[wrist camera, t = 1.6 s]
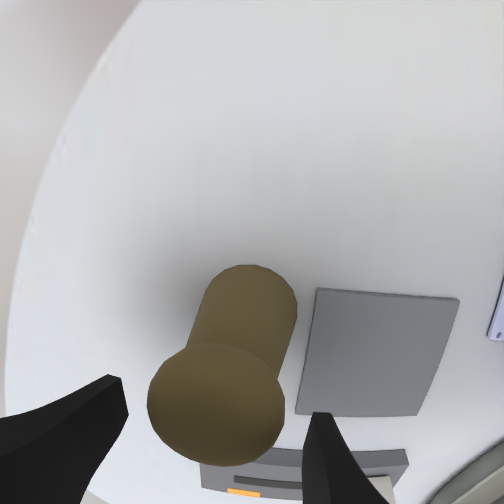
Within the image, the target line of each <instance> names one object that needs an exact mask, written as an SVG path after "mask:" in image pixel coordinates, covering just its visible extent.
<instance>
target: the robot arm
mask: <svg viewBox="0 0 504 504" xmlns="http://www.w3.org/2000/svg"><path fill="white" fill-rule="evenodd" d="M497 334H498V335H497ZM488 338H489V339H490V340H491V341H499V340H504V283H503V287H502V291H501V294H500V298H499V301H498V305H497V308H496V311H495V314H494V317H493V320H492V323H491V326H490V329H489V332H488ZM128 415H129V414H128V409H127V405H126V400H125V396H124V391H123V386H122V381H121V378H119V377H116V376H112V375H109V374H107V375H105V376H103V377H101V378H99V379H97V380H96V381H94V382H92V383H90V384H88V385H86V386H84V387H83V388H81V389H79V390H77V391H75V392H73V393H71V394H69V395H67V396H65V397H63V398H61V399H59V400H56V401H54V402H52V403H50V404H47V405H45V406H43V407H40V408H37V409H34V410H31V411H28V412H25V413H22V414H18V415H13V416H9V417H4V418H0V504H80V502H81V500H82V497H83V495H84V493H85V491H86V489H87V487H88V484H89V482H90V480H91V478H92V477H93V475H94V473H95V471H96V470H97V468H98V467H99V465H100V464H101V462H102V461H103V459H104V458H105V456H106V455H107V453H108V452H109V450H110V449H111V447H112V446H113V444H114V443H115V441H116V440H117V438H118V437H119V435H120V433H121V431H122V429H123V427H124V425H125V422H126V420H127V418H128ZM301 472H302V495H303V504H389V503H388V501H387V500H386V499H385V498H384V497H383V496H382V495H381V494H380V493H379V492H378V490H377V489H376V488H375V487H374V486H373V484H372V483H371V482H370V480H369V479H368V478H367V476H366V475H365V473H364V472H363V471H362V469H361V468H360V466H359V465H358V463H357V462H356V460H355V458H354V457H353V455H352V453H351V452H350V450H349V448H348V446H347V445H346V443H345V441H344V439H343V437H342V435H341V433H340V431H339V429H338V427H337V425H336V422H335V420H334V418H333V415H332V414H331V413H330V412H313V414H312V418H311V421H310V425H309V429H308V432H307V436H306V439H305V442H304V446H303V456H302V470H301Z"/></svg>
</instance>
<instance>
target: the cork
mask: <svg viewBox="0 0 504 504" xmlns="http://www.w3.org/2000/svg"><path fill="white" fill-rule="evenodd" d="M296 319H297V301H296V299H295V296H294V293H293V290H292V289H291V288H290V286H289V285H288V284H287V283H286V281H285V280H284V279H283V278H282V277H281V276H279V275H278V274H276V273H275V272H273V271H272V270H270V269H267V268H264V267H260V266H257V265H238V266H235V267H232V268H229V269H226V270H224V271H223V272H221V273H220V274H219V275H218V276H216V277H215V278H214V279H213V280H212V282H211V283H210V285H209V286H208V288H207V290H206V292H205V295H204V297H203V300H202V303H201V305H200V308H199V311H198V314H197V316H196V319H195V322H194V325H193V327H192V330H191V333H190V336H189V339H188V341H187V344H186V347H185V348H184V349H183V350H181V351H180V352H178V353H177V354H175V355H173V356H172V357H170V358H169V359H167V360H166V361H164V363H163V364H162V365H161V367H160V368H159V370H158V371H157V373H156V374H155V376H154V378H153V379H152V381H151V382H150V386H149V390H148V397H147V410H148V415H149V418H150V421H151V424H152V427H153V429H154V431H155V432H156V433H157V435H158V436H159V437H160V439H161V440H162V441H163V442H164V443H165V444H166V445H168V446H169V447H170V448H171V449H173V450H174V451H175V452H177V453H179V454H181V455H182V456H184V457H186V458H188V459H190V460H193V461H196V462H199V463H202V464H206V465H212V466H220V467H231V466H241V465H244V464H247V463H250V462H253V461H255V460H256V459H258V458H259V457H260V456H262V455H263V454H264V453H265V452H267V451H268V450H269V449H270V448H271V447H273V445H274V444H275V442H276V440H277V438H278V436H279V434H280V432H281V430H282V428H283V426H284V418H285V398H284V395H283V392H282V389H281V387H280V384H279V382H278V380H277V378H278V375H279V372H280V369H281V366H282V363H283V360H284V357H285V354H286V351H287V348H288V345H289V342H290V339H291V335H292V332H293V329H294V326H295V323H296Z"/></svg>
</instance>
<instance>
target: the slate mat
mask: <svg viewBox="0 0 504 504" xmlns="http://www.w3.org/2000/svg"><path fill="white" fill-rule="evenodd" d="M459 303H460V301H459V300H458V299H451V298H436V297H421V296H408V295H395V294H382V293H370V292H359V291H347V290H336V289H326V288H317V294H316V300H315V307H314V313H313V319H312V325H311V331H310V337H309V342H308V348H307V353H306V359H305V364H304V369H303V374H302V379H301V384H300V389H299V394H298V399H297V404H296V408H295V414H298V415H312V414H313V412H330V413H331V414H332V415H333V417H397V416H415V415H417V414H418V412H419V410H420V408H421V405H422V403H423V401H424V399H425V397H426V395H427V392H428V390H429V388H430V385H431V383H432V381H433V378H434V376H435V373H436V371H437V368H438V366H439V363H440V361H441V358H442V355H443V353H444V350H445V347H446V344H447V342H448V339H449V336H450V333H451V330H452V327H453V323H454V320H455V317H456V314H457V310H458V307H459Z"/></svg>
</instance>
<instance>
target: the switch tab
mask: <svg viewBox="0 0 504 504" xmlns="http://www.w3.org/2000/svg"><path fill="white" fill-rule="evenodd" d="M368 479H369V480H370V482H371V483H372V484H373V486H374V487H375V488H376V489H377V490H378V492H379V493H380V494H381V495H382V496H383V497H384V498H385V499H386V500H387V501H388V503H389V504H396V503H395V498H394V493H393V489H392V484H391V479H390V476H386V477H372V478H368Z"/></svg>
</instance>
